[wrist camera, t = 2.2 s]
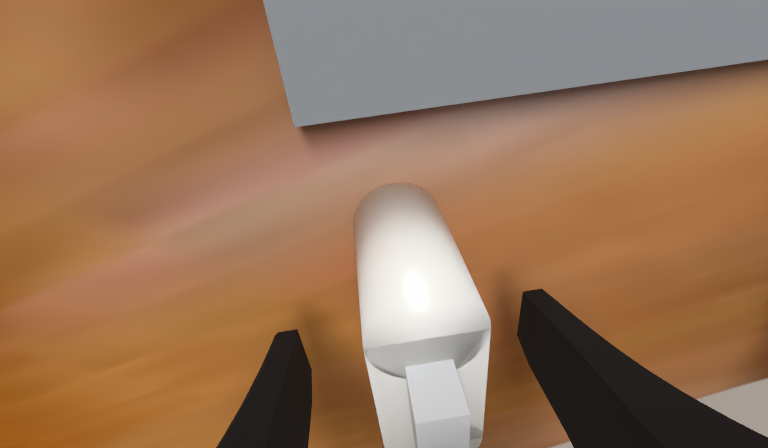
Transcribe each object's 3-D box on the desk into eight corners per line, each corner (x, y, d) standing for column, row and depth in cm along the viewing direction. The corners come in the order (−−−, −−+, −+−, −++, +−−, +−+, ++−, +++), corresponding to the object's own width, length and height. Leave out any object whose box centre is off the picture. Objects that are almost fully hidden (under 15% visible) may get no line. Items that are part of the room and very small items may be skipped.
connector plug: (439, 176, 12) (522, 333, 7) (443, 339, 16) (496, 511, 11) (346, 190, 12) (356, 360, 7) (376, 350, 16) (396, 528, 11)
